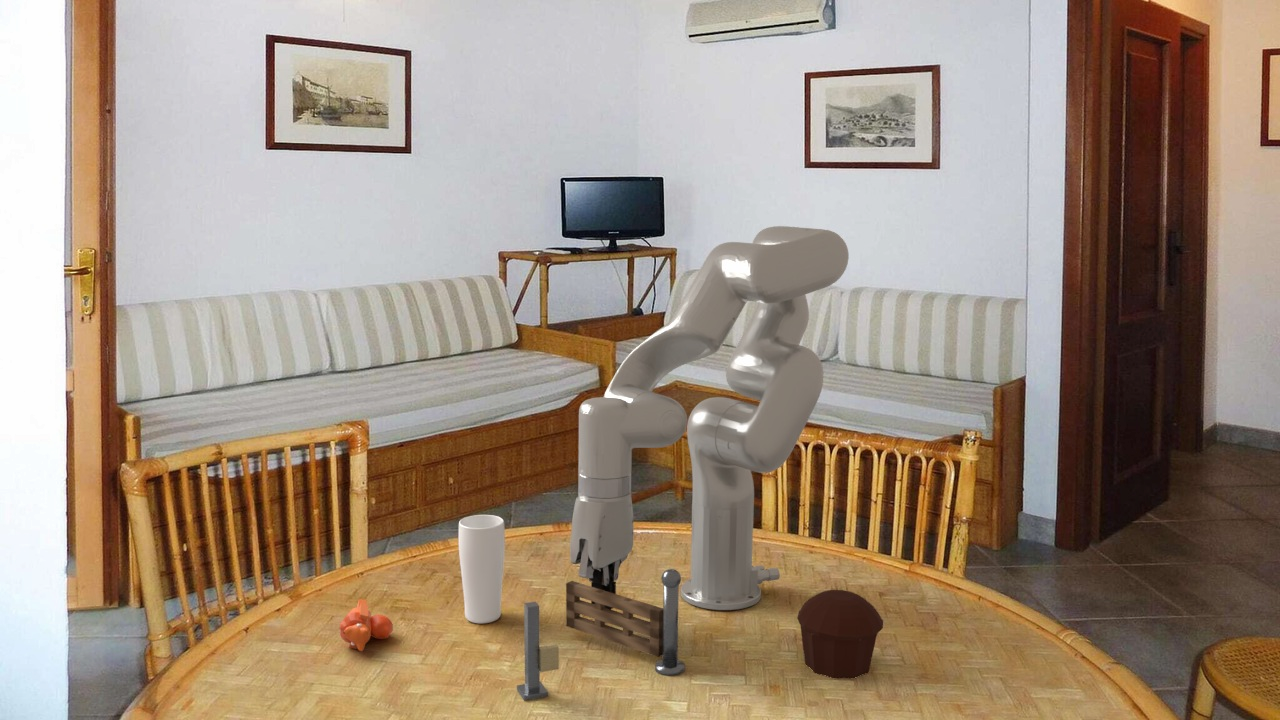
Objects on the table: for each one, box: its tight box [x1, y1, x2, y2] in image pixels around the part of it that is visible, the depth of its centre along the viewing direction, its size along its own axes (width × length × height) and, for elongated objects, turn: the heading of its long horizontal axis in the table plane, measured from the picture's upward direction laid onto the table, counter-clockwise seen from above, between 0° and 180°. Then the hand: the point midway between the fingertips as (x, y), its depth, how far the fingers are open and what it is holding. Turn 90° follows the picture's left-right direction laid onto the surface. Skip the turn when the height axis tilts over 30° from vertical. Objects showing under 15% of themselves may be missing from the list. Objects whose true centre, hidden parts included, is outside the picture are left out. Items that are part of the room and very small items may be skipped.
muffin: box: [796, 589, 884, 679], centre depth 156 cm, size 12×11×10 cm
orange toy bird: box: [339, 598, 394, 652], centre depth 163 cm, size 5×8×12 cm
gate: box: [565, 580, 663, 658], centre depth 160 cm, size 16×1×6 cm, turn 53°
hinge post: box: [654, 568, 686, 677], centre depth 153 cm, size 4×4×14 cm
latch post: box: [516, 601, 560, 701], centre depth 146 cm, size 5×3×12 cm
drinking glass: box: [457, 514, 506, 624], centre depth 170 cm, size 7×7×15 cm
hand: (603, 607), depth 166 cm, fingers closed
